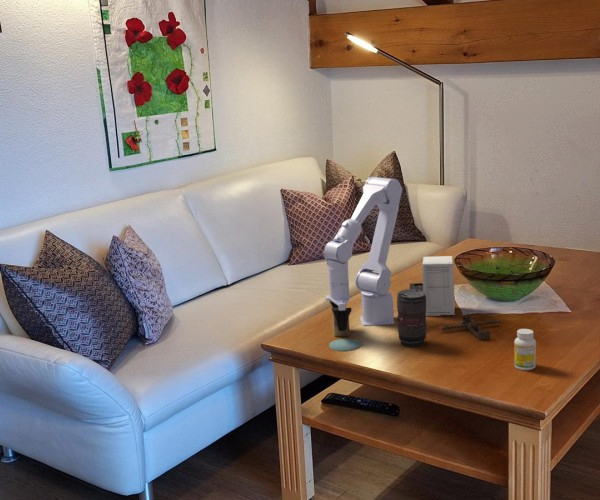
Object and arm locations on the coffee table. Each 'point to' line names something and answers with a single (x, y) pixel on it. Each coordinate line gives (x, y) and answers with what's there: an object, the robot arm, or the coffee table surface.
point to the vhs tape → (416, 286)
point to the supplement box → (438, 285)
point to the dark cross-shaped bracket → (473, 327)
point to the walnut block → (335, 328)
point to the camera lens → (411, 317)
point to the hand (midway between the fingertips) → (341, 326)
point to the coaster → (344, 345)
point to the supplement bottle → (525, 350)
